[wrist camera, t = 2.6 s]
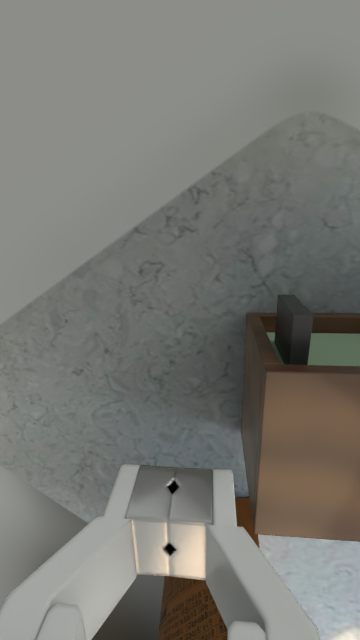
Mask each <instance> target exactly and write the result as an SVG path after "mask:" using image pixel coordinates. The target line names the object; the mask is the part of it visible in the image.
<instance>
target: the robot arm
mask: <svg viewBox="0 0 360 640" xmlns="http://www.w3.org/2000/svg"><path fill="white" fill-rule="evenodd" d="M136 574H139V575H157V576H173V577H181V578H189V579H198V580H206V584H207V586H208V588H209V590H210V592H211V595H212V597H213V599H214V601H215V603H216V606H217V608H218V610H219V612H220V614H221V616H222V619H223V621H224V623H225V625H226V627H227V629H228V634H227V640H320V636H319V632H318V628H317V626H316V625H315V624H314V622H313V621H312V619H311V618H310V617H309V615H308V614H307V613H306V611H305V610H304V609H303V607H302V606H301V605H300V603H299V602H298V601H297V599H296V598H295V596H294V595H293V594H292V592H291V591H290V590H289V588H288V587H287V586H286V584H285V583H284V582H283V580H282V579H281V578H280V576H279V575H278V573H277V572H276V571H275V569H274V568H273V567H272V565H271V564H270V563H269V561H268V560H267V559H266V557H265V556H264V554H263V553H262V552H261V550H260V549H259V548H258V546H257V545H256V544H255V542H254V541H253V540H252V538H251V537H250V536H249V534H248V533H247V531H246V530H245V529H244V527H238V526H237V519H236V506H235V494H234V481H233V472H232V470H225V469H213V470H212V469H199V468H173V467H161V466H149V465H131V464H123V465H122V466H121V467H120V469H119V472H118V474H117V477H116V480H115V483H114V486H113V488H112V491H111V494H110V497H109V500H108V502H107V505H106V508H105V511H104V514H103V516H102V517H96V518H94V519H93V520H92V521H91V522H90V523H89V524H88V525H87V526H85V527H84V528H83V529H82V530H81V531H80V532H79V533H77V534H76V535H75V536H74V537H73V538H72V539H71V540H70V541H69V542H67V543H66V544H65V545H64V546H63V547H62V548H61V549H59V550H58V551H57V552H56V553H55V554H54V555H53V556H51V557H50V558H49V559H48V560H47V561H46V562H45V563H43V564H42V565H41V566H40V567H39V568H38V569H37V570H35V571H34V572H33V573H32V574H31V575H30V576H29V577H28V578H26V579H25V580H24V581H23V582H22V583H21V584H20V585H18V586H17V587H16V588H15V589H14V590H13V591H12V592H11V593H9V594H8V595H7V597H6V599H5V600H4V602H3V604H2V606H1V608H0V640H91V639H92V638H93V636H94V635H95V634H96V632H97V631H98V630H99V628H100V627H101V625H102V624H103V623H104V621H105V620H106V619H107V617H108V616H109V614H110V613H111V612H112V610H113V609H114V607H115V606H116V605H117V603H118V602H119V601H120V599H121V598H122V596H123V595H124V594H125V592H126V591H127V589H128V588H129V587H130V585H131V584H132V582H133V581H134V580H135V578H136Z"/></svg>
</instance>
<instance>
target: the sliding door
mask: <svg viewBox="0 0 360 640" xmlns="http://www.w3.org/2000/svg"><path fill="white" fill-rule="evenodd" d="M312 324H313V314H312V313H311V312H310V311H309V310H308V309H307V308H306V307H305V306H304V305H303V304H302V303H301V302H300V301H299V299H298V298H297V297H296V296H295V295H278V303H277V316H276V328H275V333H273V332H266V333H267V335H268V338H269V340H270V342H271V345H272V347H273V349H274V352H275V354H276V356H277V359H278V361H279V363H280V364H287V365H331V366H360V334H348V333H311V332H312Z"/></svg>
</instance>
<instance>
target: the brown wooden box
mask: <svg viewBox="0 0 360 640" xmlns="http://www.w3.org/2000/svg"><path fill="white" fill-rule="evenodd" d="M312 314H313V324H312V332H311V333H348V334H360V314H348V313H312ZM276 316H277V313H247V318H246V338H245V359H244V380H243V401H242V422H241V436H242V444H243V452H244V460H245V468H246V476H247V484H248V492H249V499H250V507H251V515H252V523H253V531H254V534H262V535H275V536H289V537H303V538H316V539H330V540H343V541H357V542H360V366H331V365H287V364H280V363H279V361H278V359H277V356H276V354H275V352H274V349H273V347H272V345H271V342H270V340H269V338H268V335H267V333H266V332H273V333H275V328H276Z"/></svg>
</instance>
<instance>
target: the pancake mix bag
mask: <svg viewBox="0 0 360 640" xmlns="http://www.w3.org/2000/svg"><path fill="white" fill-rule="evenodd" d="M235 506H236V519H237V526H238V527H244V529H245V530H246V531H247V533H248V534H249V536H250V537H251V538H252V540H253V541H254V542H255V544H256V545H257V546H258V548H259V540H258V534H254V531H253V523H252V515H251V507H250V499H249V498H235ZM259 549H260V548H259ZM158 634H159V635H158V640H227V634H228V629H227V627H226V625H225V623H224V621H223V619H222V616H221V614H220V612H219V610H218V608H217V606H216V603H215V601H214V599H213V597H212V595H211V592H210V590H209V588H208V586H207V584H206V580H198V579H189V578H181V577H173V576H165V578H164V587H163V596H162V605H161V613H160V624H159V633H158Z"/></svg>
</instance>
